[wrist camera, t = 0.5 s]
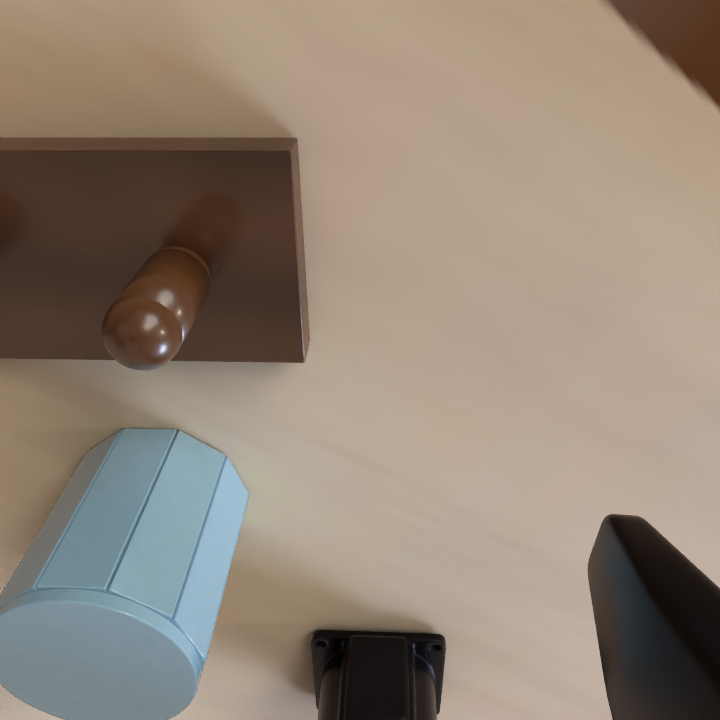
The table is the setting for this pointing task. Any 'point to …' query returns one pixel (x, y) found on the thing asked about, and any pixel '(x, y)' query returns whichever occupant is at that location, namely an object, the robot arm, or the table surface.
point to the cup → (124, 581)
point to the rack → (152, 250)
